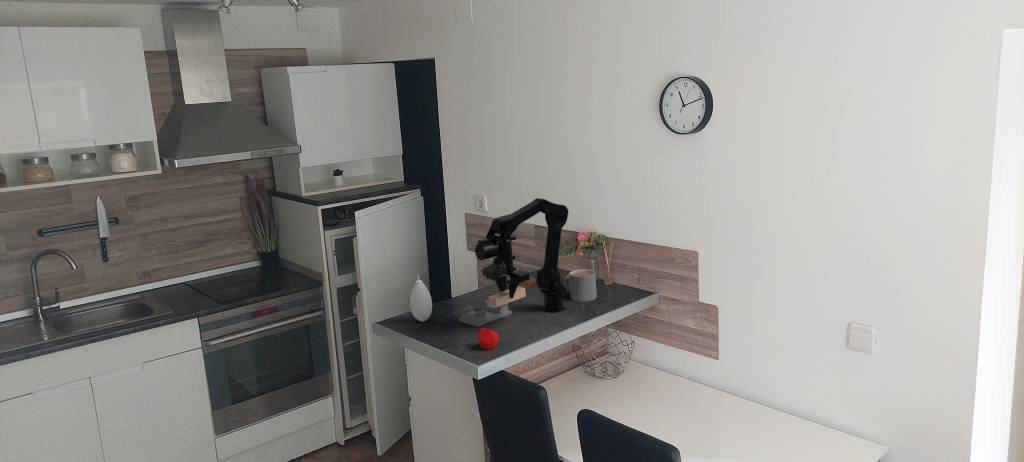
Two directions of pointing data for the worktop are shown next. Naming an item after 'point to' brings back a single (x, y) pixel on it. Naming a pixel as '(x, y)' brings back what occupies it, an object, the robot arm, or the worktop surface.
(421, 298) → the white air blower bulb
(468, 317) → the grey cradle stand
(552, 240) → the robot arm
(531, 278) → the wooden fragment
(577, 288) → the coffee mug
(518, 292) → the clay bar
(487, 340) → the apple
